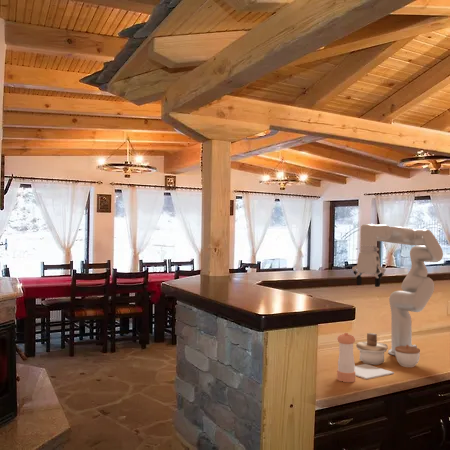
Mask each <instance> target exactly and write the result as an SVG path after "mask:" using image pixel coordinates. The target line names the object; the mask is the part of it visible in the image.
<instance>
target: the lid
mask: <svg viewBox="0 0 450 450" xmlns="http://www.w3.org/2000/svg"><path fill="white" fill-rule="evenodd" d="M356 348H357V349H358V348H359V349H363V350H370V351H383V350H386V351H387V350H389V347H388V344H386V343H382V342H378V335H377V333H374V332H373V333H371V332H369V333H366V341H359V342H356Z"/></svg>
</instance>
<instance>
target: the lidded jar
mask: <svg viewBox="0 0 450 450" xmlns="http://www.w3.org/2000/svg"><path fill="white" fill-rule="evenodd" d="M395 354H396V356H395V359H396V361H397V363H398V364H399V365H400V366H401V367H405V368H414V367H416V365H417V364H418V363H419V360H420V356H421V355H420V354H421V349H420V348H418V347H417V348H416V347H410V346H409V345H406V346H397V347H395Z"/></svg>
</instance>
